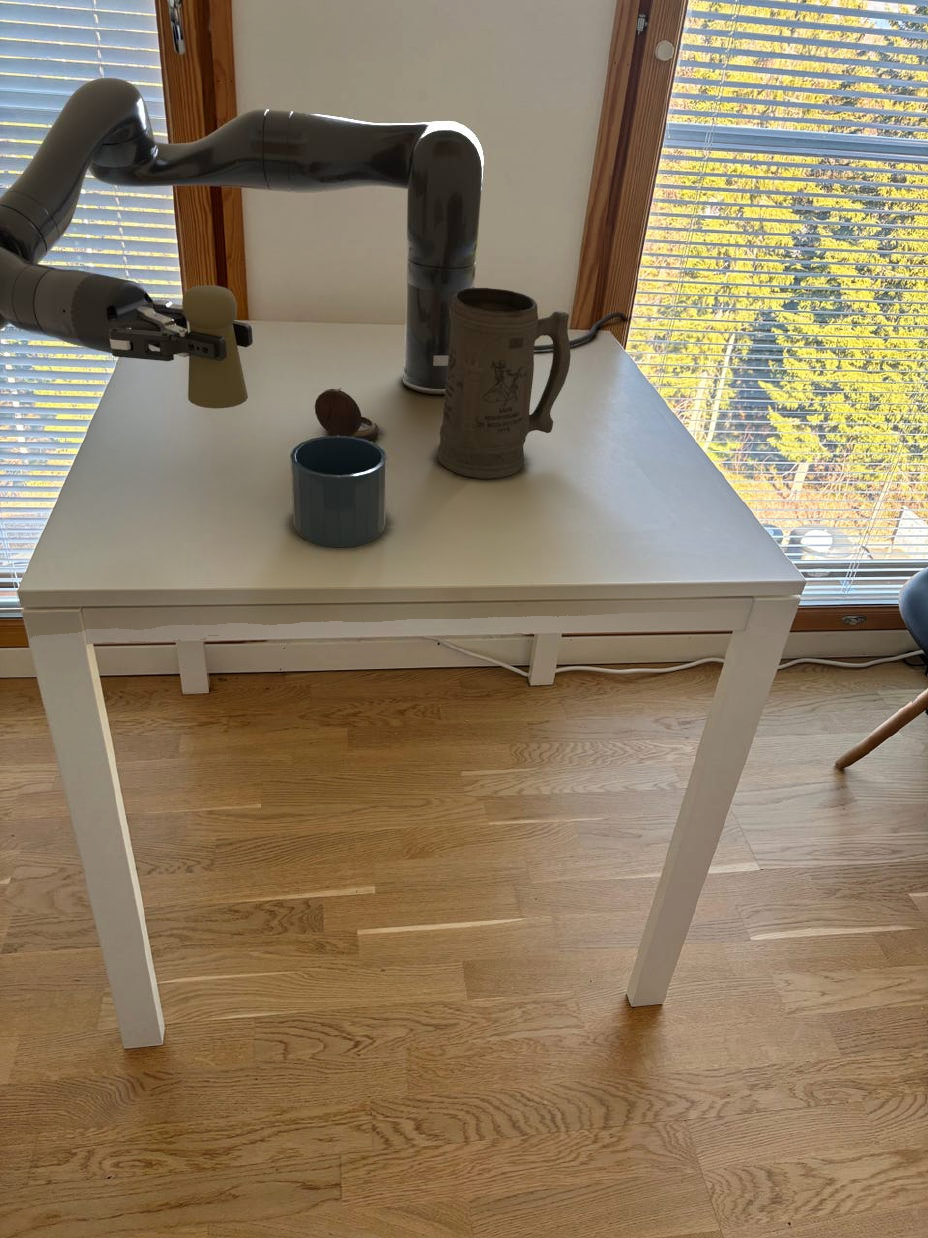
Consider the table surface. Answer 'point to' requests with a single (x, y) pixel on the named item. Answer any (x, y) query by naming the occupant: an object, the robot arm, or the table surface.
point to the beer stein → (496, 380)
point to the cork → (209, 377)
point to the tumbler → (338, 490)
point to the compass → (343, 416)
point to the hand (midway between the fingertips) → (236, 342)
